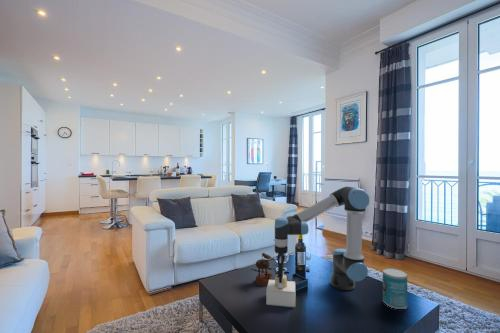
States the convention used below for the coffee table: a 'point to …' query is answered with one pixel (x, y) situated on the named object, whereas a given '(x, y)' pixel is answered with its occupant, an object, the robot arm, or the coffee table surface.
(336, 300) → the coffee table surface
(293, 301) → the carton
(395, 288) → the food can
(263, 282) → the brown tall irregular piece
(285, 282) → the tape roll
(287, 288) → the lid
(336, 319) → the coffee table surface
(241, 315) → the coffee table surface
